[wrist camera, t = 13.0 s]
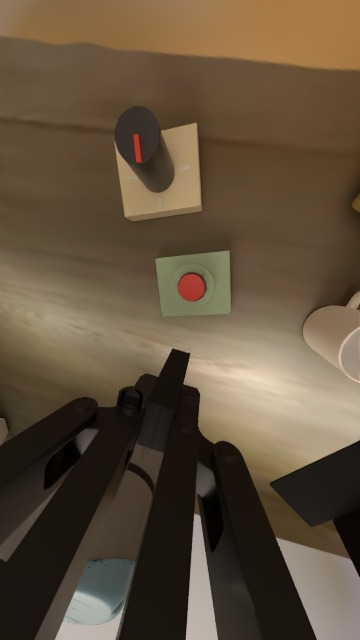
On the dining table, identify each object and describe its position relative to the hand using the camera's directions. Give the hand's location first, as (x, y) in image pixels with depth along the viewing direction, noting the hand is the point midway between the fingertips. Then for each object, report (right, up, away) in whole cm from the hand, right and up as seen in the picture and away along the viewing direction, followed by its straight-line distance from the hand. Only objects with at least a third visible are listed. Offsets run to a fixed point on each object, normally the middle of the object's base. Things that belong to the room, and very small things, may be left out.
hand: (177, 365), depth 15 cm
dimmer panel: (-3, +26, +15) cm, 30 cm away
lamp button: (+2, +9, +15) cm, 17 cm away
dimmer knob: (-3, +25, +12) cm, 28 cm away
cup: (+26, +4, +16) cm, 30 cm away
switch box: (+3, +10, +18) cm, 21 cm away
